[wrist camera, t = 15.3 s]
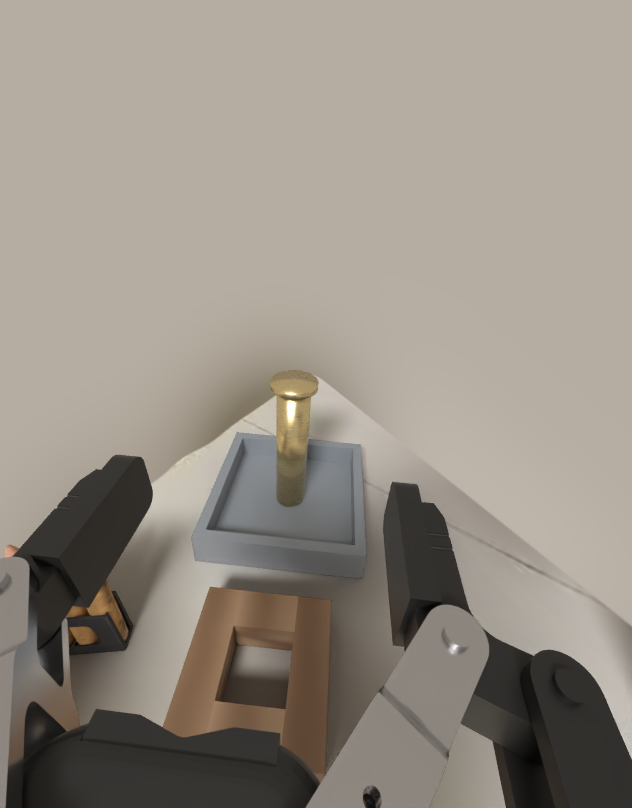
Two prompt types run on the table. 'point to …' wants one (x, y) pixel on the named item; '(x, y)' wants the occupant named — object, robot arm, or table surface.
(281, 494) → the pin
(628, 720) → the table surface
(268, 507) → the slate tray
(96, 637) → the ammunition clip
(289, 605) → the socket block
